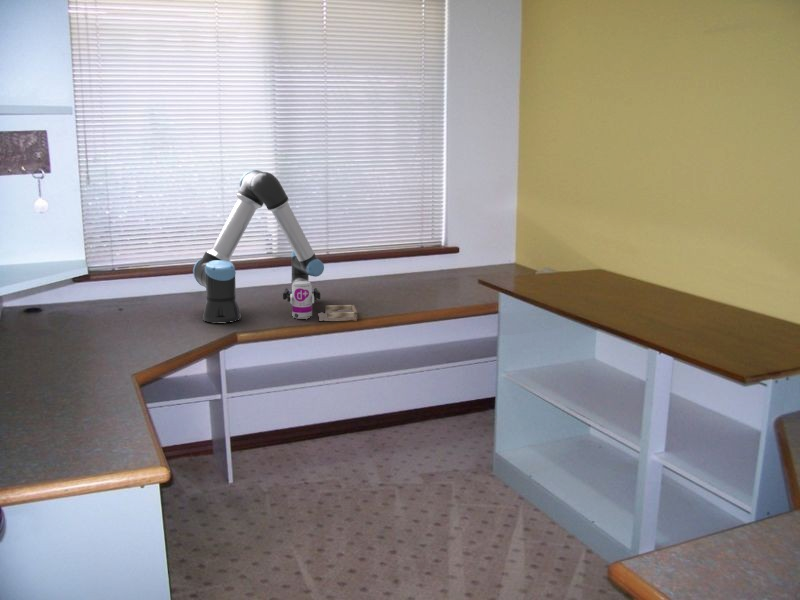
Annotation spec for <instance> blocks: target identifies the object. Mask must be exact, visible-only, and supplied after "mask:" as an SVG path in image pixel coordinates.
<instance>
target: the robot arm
mask: <svg viewBox="0 0 800 600" xmlns="http://www.w3.org/2000/svg"><path fill="white" fill-rule="evenodd" d="M236 196H237V201H236V202H235V204H234V206H233V208H232V210H231V211H230V214H229V215H228V218H227V220H226V221H225V223H224V225H223V227H222V229H221V230H220V233H219V234H218V236H217V238H216V240H215V242H214V244H213V245H212V246H211V247H212V248H211V249H209V250H206V251H205V252H204V255H203V256H202V258H200V259H198V260H197V261H196V262H195V263H194V265H193V268H192V273H193V278H194V279H195V281H196V282H197V283H198V284H199V286H202V287H204V288H205V290H206V291H205V292H206V293H205V295H206V296H205V297H206V301H205V302H206V303H205V305H204V310H203V313H202V321H203V320H204V321H203V322H205V321H208V322H230V321H235V320H238V319H240V318H241V319H242V315H241V314H242V313H241V310H240V308H239V306H238V302H237V297H236V295H237V293H236V287H237V286H236V273H237V272H236V267H235V264H233V262H232V261H231V258H232V256H233V253H234V252H235V250H236V248H237V246H238V245H239V242H240V241H241V239H242V237H243V235H244V233H245V231H246V229H247V228H248V225H249V224H250V222H251V220H252V218H253V216H254V214H255V212H256V210H258V209H261V208H262V207H263V206H264V205H265V207H266V209H267V210H268V211H271V212H272V214H273V216H274V218H275V220H276V222H277V224H278V226H279V227H280V229H281V231H282V233H283V235H284V237H285V239H286V240H287V242H288V244H289V245H290V248H291V249H292V250H291V253H290V254H291V257H290V260H291V261H290V262H291V263H290V264H291V280H290V281H291V283H290V284H291V286H292V285H293V282H295V281H309V280H310V279H309V276H310V277H315V278H316V277H319V276H321V275H322V274H323V273H324V271H325V264H324V262H323V261H321V260H320V259H318V257H317V255H316V253H315V252H314V250H313V248H312V246H311V244H310V242H309V241H308V238H307V237H306V234H305V233H304V231H303V229H302V227H301V225H300V223H299V221H298V220H297V218H296V216H295V214H294V211H293V209H292V208H291V206H290V204H289V203H288V202H289V196H288V195H287V194H286V192H285V190H284V187H283V185H282V184H281V182H280V180H279V179H278V178H277V177H276V176H275V175H274V174H273V173H271V172H267V171H263V170H262V171H261V170H256V169H254V170H249V171H247V172H245V173H244V174H243V175H242V177H240V180H239V188H238V191H237V192H236ZM309 282H310V281H309ZM282 299H283V300H287V302H288V303H289V302H290V305H292V288H291V289H290V288H285V289H284V291H283V293H282ZM317 299H318V300H320V299H321V292H320V291H319V290H318V288H317V287H315V288H312V304H315V301H317ZM241 319H240V320H241Z"/></svg>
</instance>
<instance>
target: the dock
mask: <svg viewBox="0 0 800 600" xmlns="http://www.w3.org/2000/svg"><path fill="white" fill-rule="evenodd" d="M338 310H352V312H332V313H327V318H344V317H357V318H358V311H357V309H356V306H355V304H343V305H342V304H338V305H337V304H333V305H325V310H324V311H325V312H326V311H338Z"/></svg>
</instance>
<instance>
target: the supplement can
mask: <svg viewBox="0 0 800 600" xmlns="http://www.w3.org/2000/svg"><path fill="white" fill-rule="evenodd" d="M291 289H292V304H291V311H292V312H291V315H292V316H293V317H292V318H294V317H296V318H305V317H310V316H312V317H313V303H312V290H313V286H312V283H311V281H295V282H293V285H292V284H291Z"/></svg>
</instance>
